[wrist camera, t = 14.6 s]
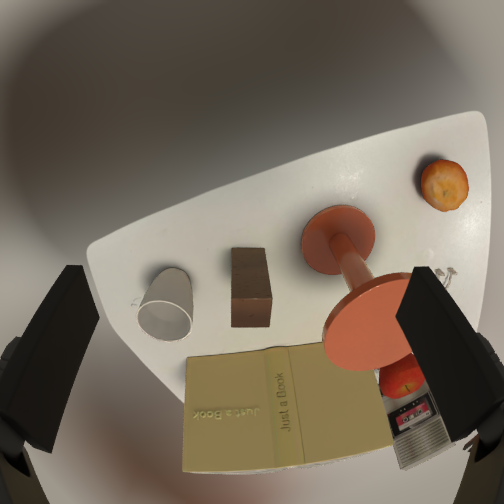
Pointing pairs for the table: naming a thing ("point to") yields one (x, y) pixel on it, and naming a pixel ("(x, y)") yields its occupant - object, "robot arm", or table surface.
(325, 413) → the book
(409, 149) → the table surface
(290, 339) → the table surface
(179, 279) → the cup
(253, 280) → the walnut block
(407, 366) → the apple
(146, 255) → the table surface
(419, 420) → the cassette tape recorder
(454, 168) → the fruit
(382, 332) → the orange pedestal stand
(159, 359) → the table surface
